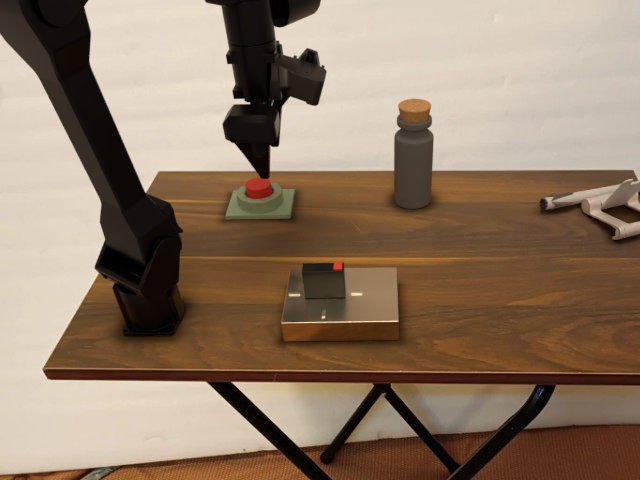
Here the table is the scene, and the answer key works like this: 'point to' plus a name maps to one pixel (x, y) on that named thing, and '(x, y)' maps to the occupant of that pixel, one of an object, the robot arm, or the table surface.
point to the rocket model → (574, 197)
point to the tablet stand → (620, 196)
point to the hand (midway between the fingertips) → (270, 161)
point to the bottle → (413, 154)
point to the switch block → (261, 204)
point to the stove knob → (324, 280)
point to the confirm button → (258, 188)
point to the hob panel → (344, 308)
